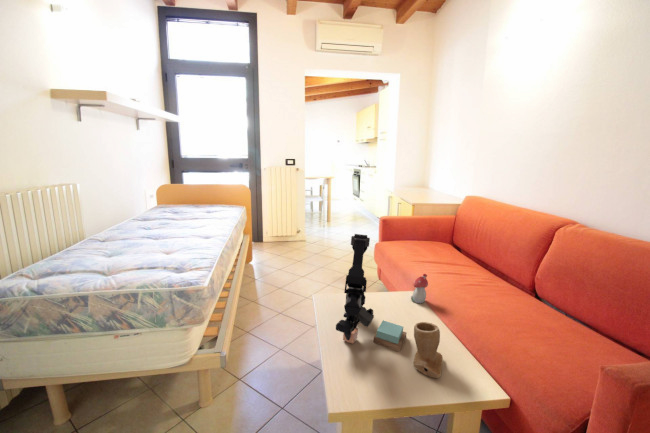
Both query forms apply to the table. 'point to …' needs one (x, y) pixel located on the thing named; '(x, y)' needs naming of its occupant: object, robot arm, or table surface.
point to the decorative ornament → (420, 289)
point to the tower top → (389, 332)
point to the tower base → (391, 344)
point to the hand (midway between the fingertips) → (350, 336)
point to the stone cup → (427, 349)
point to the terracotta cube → (352, 336)
